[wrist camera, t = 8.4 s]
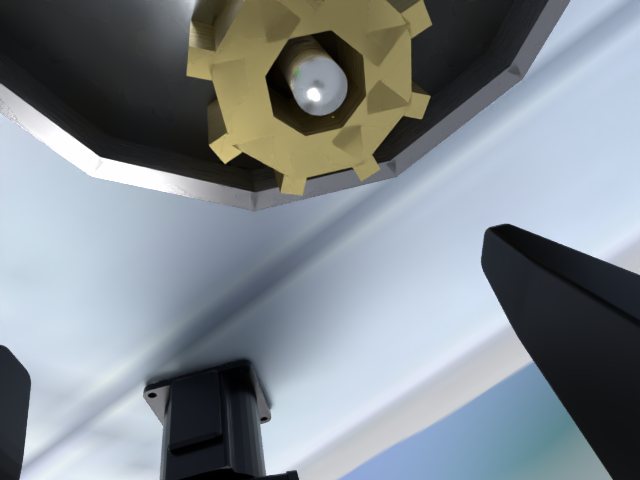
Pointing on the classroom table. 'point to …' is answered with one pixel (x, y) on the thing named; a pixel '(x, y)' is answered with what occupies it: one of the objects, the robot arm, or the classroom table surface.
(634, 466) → the robot arm
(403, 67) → the planet gear
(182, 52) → the tray
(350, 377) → the classroom table surface
